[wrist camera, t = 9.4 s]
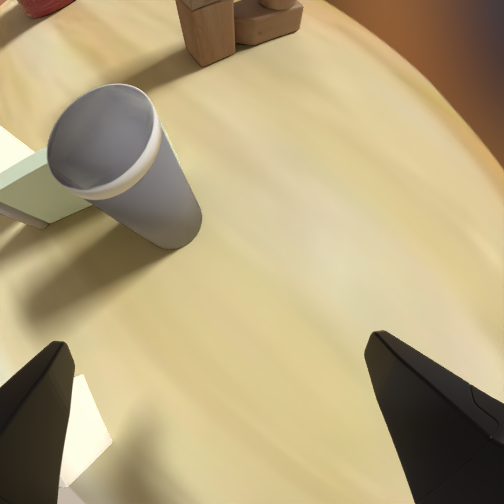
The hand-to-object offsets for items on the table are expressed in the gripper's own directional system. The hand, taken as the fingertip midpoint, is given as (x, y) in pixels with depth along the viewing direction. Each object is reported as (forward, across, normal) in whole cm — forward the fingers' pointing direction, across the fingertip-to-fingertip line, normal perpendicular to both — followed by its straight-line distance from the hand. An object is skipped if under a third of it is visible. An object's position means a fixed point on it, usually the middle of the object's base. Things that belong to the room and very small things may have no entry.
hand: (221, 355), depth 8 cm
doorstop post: (+16, +3, +2) cm, 16 cm away
